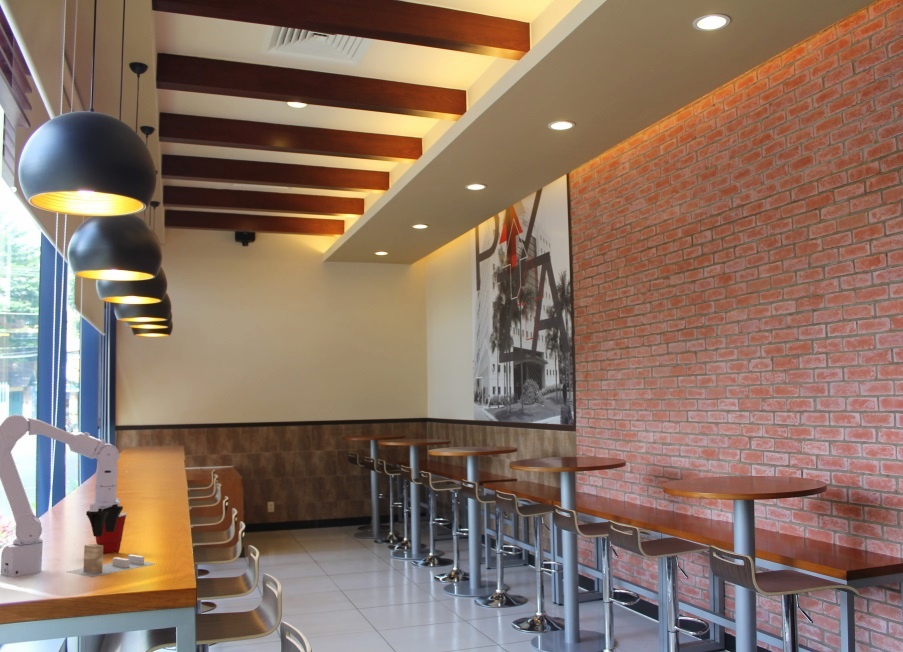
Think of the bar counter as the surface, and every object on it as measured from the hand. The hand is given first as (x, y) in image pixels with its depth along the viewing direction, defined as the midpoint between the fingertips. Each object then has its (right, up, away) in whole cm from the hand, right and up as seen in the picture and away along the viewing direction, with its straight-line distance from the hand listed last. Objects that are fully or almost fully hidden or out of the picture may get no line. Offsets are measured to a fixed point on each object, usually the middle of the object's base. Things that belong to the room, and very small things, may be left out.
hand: (104, 534), depth 226 cm
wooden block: (+1, -8, -10) cm, 12 cm away
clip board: (+5, -9, -5) cm, 11 cm away
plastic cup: (-7, -12, +19) cm, 24 cm away
